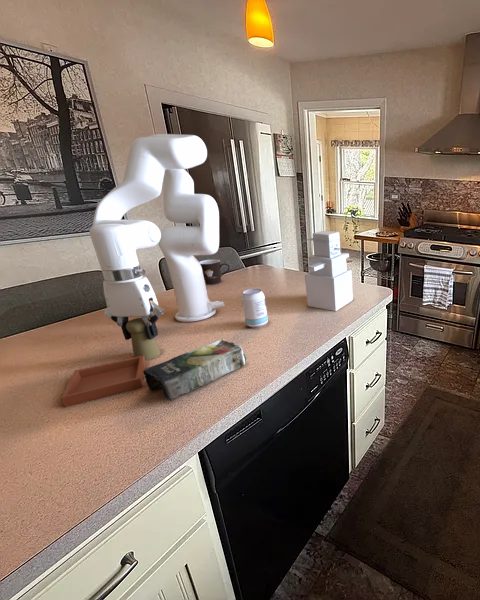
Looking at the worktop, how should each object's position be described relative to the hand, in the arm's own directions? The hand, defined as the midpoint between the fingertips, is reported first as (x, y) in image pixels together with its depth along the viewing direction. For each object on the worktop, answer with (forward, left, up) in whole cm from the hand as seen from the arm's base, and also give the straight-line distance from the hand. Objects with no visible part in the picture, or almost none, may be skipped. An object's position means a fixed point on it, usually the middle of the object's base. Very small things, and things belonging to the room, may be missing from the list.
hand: (142, 336), depth 89 cm
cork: (0, 0, -6) cm, 6 cm away
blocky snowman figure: (-59, -11, -6) cm, 60 cm away
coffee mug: (-23, -64, -6) cm, 68 cm away
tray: (+7, +11, -6) cm, 14 cm away
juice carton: (-12, +20, -6) cm, 24 cm away
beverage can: (-30, -5, -6) cm, 31 cm away
